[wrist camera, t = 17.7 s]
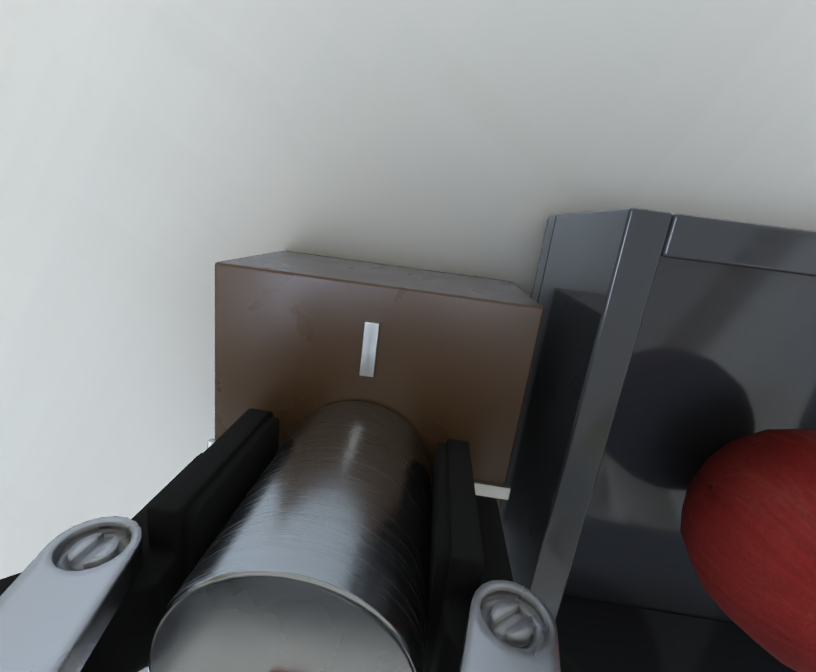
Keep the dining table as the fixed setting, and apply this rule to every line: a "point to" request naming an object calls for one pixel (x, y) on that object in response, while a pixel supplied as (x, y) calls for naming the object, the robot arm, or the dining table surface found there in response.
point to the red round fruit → (760, 539)
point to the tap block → (377, 350)
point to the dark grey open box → (650, 422)
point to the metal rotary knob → (315, 558)
